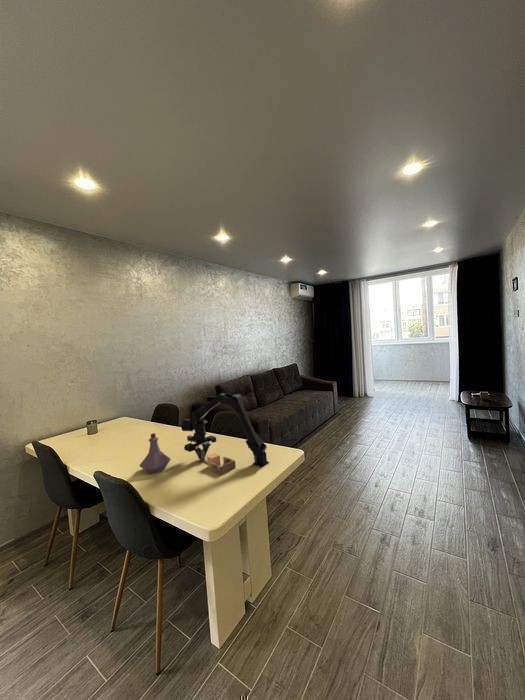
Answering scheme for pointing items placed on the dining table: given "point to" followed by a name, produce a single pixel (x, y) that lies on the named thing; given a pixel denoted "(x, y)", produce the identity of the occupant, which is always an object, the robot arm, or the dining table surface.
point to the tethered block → (210, 458)
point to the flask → (154, 458)
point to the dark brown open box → (227, 466)
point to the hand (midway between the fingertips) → (202, 457)
